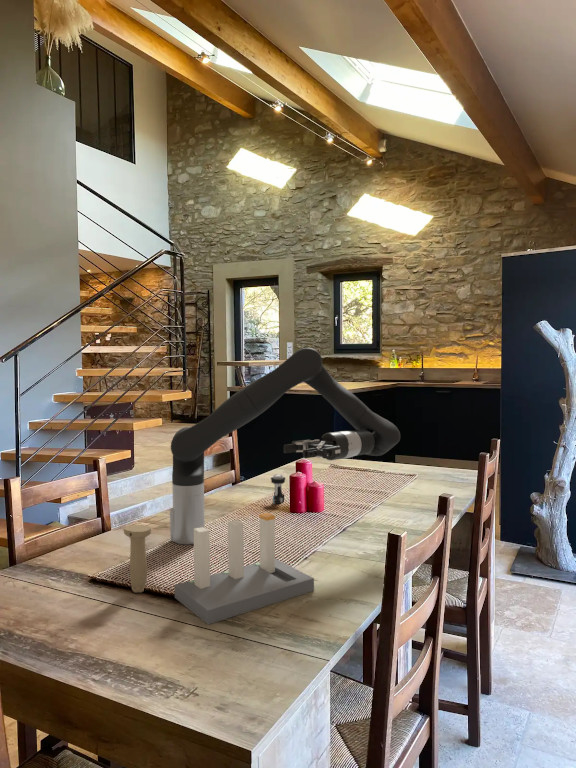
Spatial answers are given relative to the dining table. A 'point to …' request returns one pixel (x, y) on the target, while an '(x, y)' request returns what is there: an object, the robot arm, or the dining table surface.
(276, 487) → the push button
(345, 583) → the dining table surface
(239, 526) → the three peg stand
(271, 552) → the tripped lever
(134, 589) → the handle
